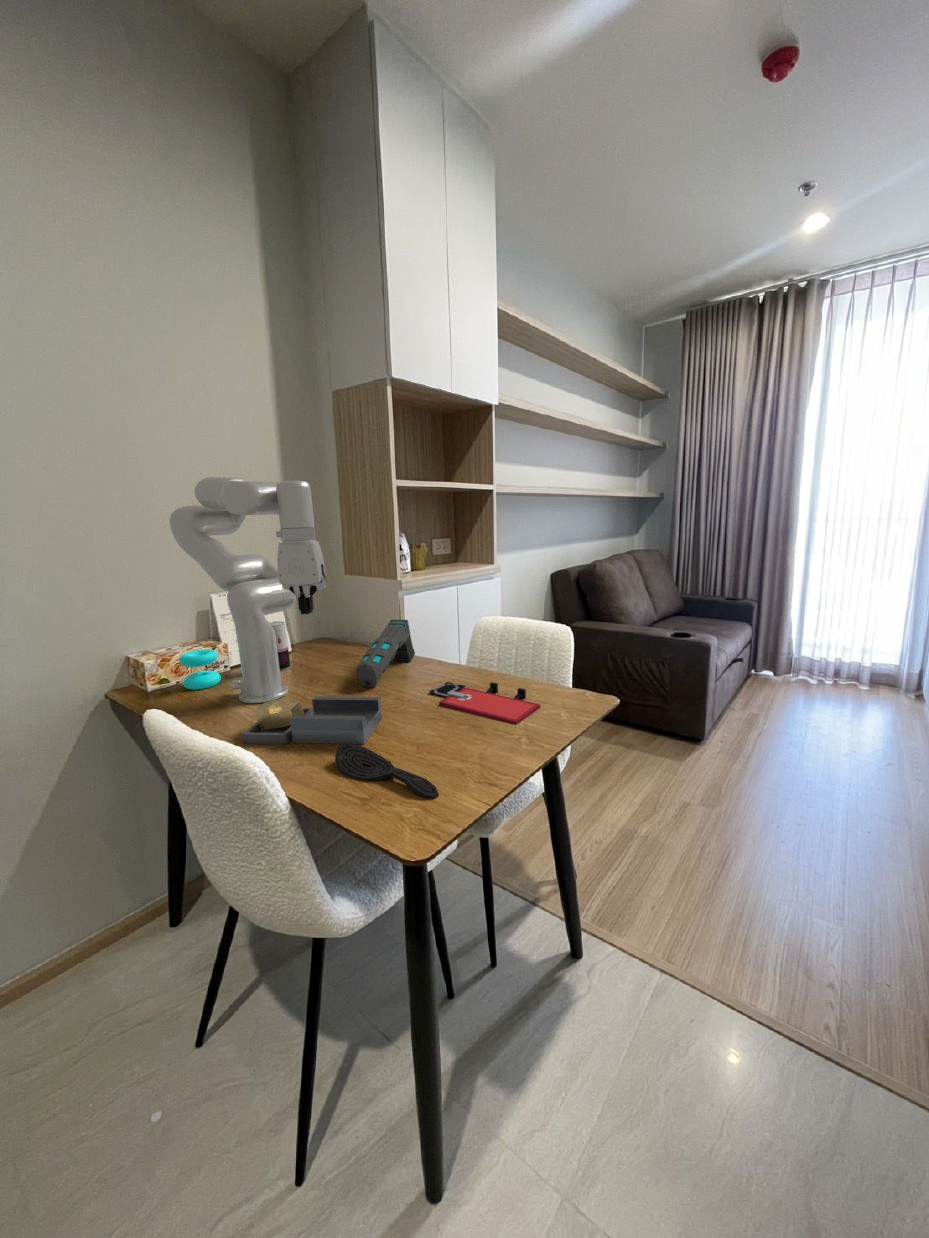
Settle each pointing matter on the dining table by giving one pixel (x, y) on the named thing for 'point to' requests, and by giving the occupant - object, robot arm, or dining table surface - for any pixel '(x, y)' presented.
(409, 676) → the dining table surface
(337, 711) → the slot block
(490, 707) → the red board with handle
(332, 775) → the dining table surface
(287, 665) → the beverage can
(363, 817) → the dining table surface
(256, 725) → the chip tray
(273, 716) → the brass chip
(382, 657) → the gun
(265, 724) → the brass chip
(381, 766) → the hairbrush
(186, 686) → the donuts
